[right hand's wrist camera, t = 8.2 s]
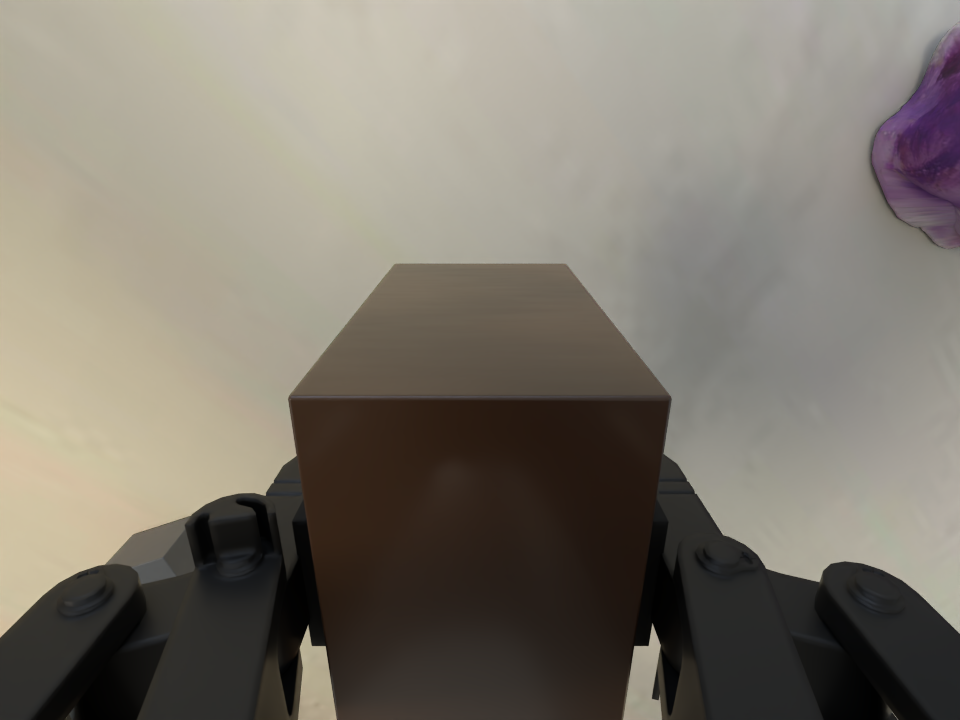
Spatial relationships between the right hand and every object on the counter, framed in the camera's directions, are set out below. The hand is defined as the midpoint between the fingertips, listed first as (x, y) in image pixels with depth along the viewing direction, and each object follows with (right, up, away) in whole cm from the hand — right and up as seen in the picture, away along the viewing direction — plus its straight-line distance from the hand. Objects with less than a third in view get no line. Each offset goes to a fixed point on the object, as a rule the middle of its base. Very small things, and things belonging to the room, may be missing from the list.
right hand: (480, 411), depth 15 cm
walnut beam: (0, -8, +4) cm, 9 cm away
